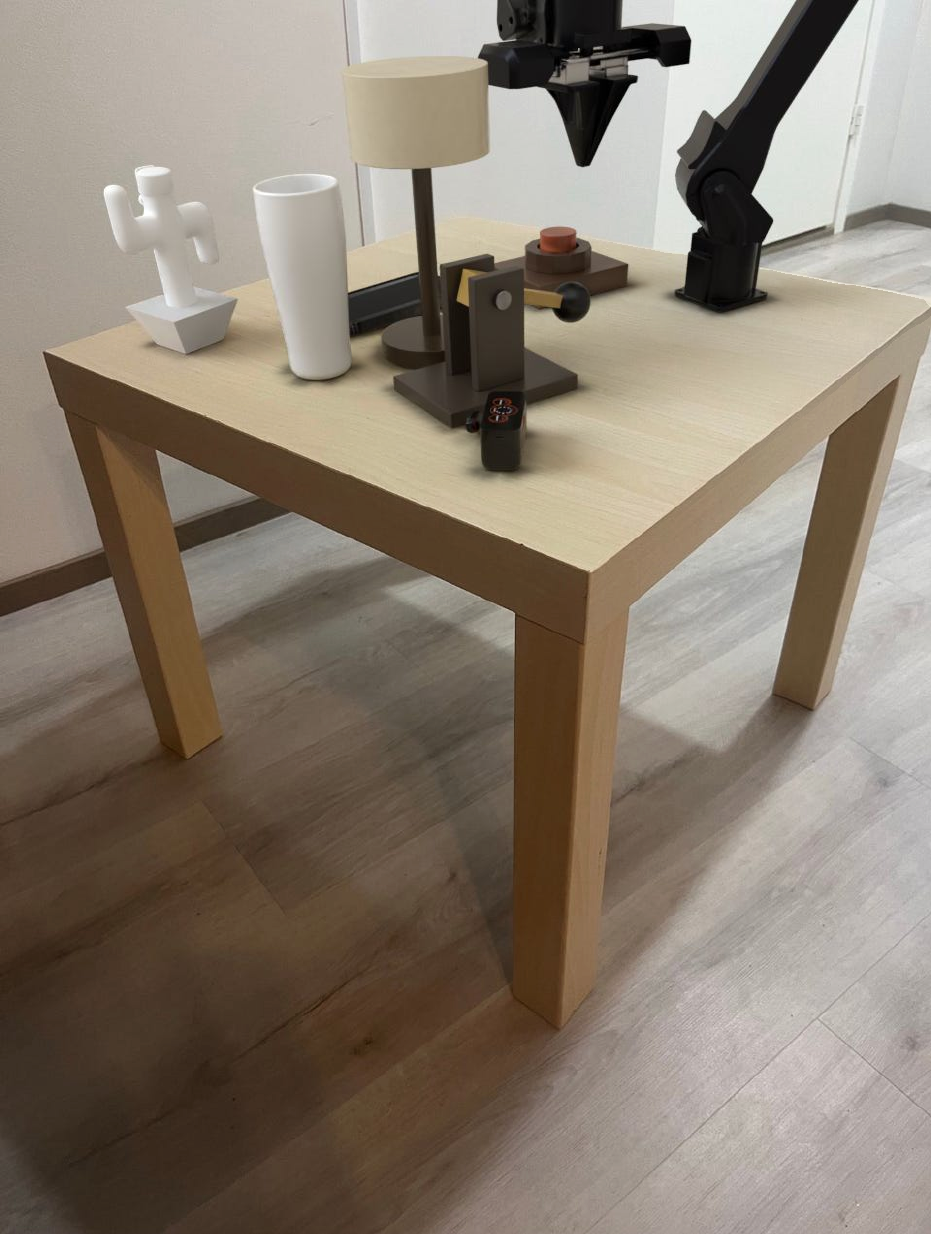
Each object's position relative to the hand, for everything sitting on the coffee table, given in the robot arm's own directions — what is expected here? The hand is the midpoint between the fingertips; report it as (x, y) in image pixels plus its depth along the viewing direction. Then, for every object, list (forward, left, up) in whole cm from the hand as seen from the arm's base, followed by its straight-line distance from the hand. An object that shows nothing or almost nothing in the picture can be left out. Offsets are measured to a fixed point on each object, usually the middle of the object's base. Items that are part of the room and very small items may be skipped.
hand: (583, 166), depth 84 cm
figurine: (+35, -14, -13) cm, 39 cm away
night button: (-1, -5, -9) cm, 10 cm away
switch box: (-1, -5, -12) cm, 13 cm away
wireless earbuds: (+24, +21, -13) cm, 34 cm away
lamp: (+18, +2, -12) cm, 22 cm away
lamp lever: (+15, +12, -7) cm, 20 cm away
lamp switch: (+19, +12, -12) cm, 25 cm away
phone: (+16, -10, -12) cm, 22 cm away
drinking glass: (+28, 0, -13) cm, 30 cm away
